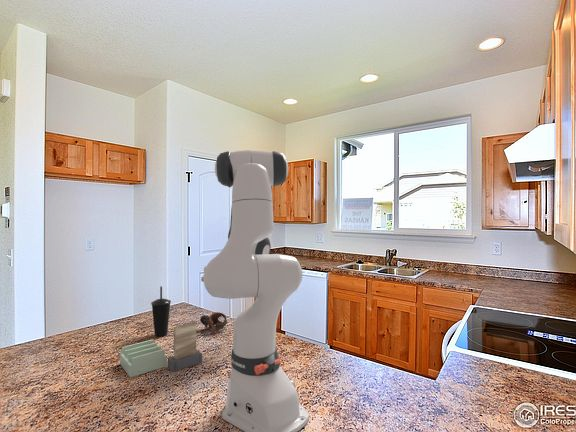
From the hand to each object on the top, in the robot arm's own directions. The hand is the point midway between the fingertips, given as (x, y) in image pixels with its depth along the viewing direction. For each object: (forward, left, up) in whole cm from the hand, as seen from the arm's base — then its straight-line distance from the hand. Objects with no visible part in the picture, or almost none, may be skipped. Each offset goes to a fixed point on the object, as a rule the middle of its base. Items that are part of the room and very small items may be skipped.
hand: (211, 283), depth 111 cm
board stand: (-1, +10, -25) cm, 27 cm away
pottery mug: (+23, -13, -26) cm, 37 cm away
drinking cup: (+31, +6, -26) cm, 41 cm away
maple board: (-1, +10, -25) cm, 27 cm away
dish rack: (+8, +20, -25) cm, 34 cm away
